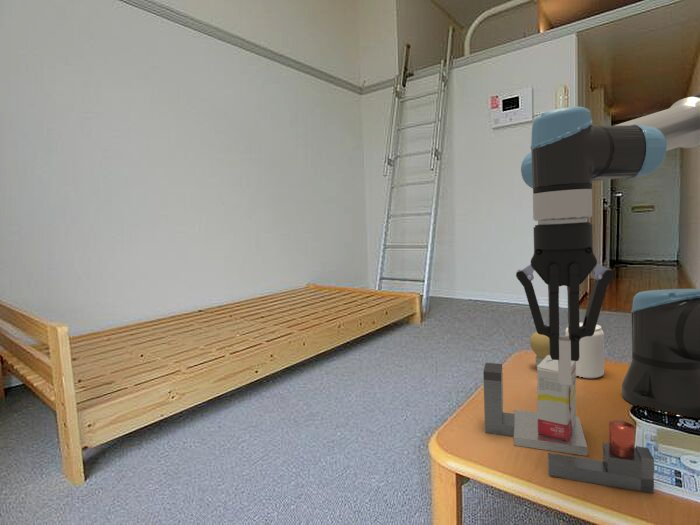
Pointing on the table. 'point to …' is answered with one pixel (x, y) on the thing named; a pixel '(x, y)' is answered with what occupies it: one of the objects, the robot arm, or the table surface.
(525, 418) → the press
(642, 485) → the rail
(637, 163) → the robot arm
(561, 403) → the ink box
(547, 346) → the light bulb
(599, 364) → the beverage can
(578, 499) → the table surface
